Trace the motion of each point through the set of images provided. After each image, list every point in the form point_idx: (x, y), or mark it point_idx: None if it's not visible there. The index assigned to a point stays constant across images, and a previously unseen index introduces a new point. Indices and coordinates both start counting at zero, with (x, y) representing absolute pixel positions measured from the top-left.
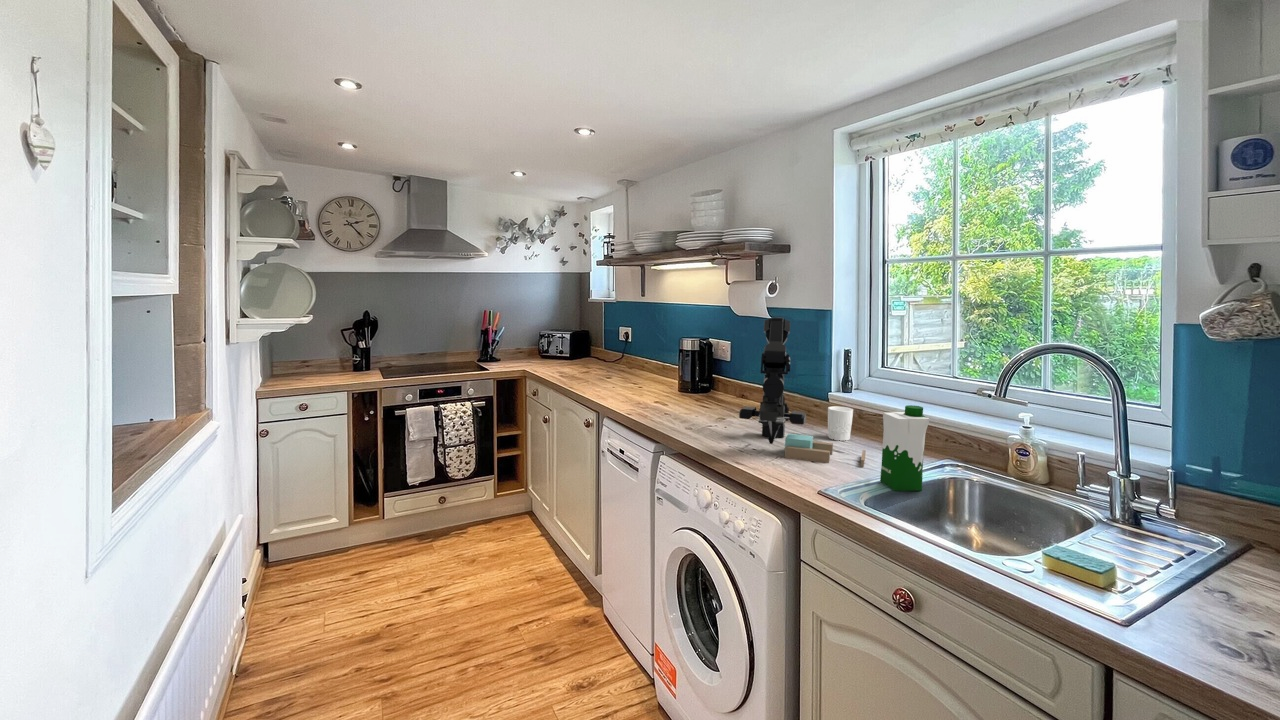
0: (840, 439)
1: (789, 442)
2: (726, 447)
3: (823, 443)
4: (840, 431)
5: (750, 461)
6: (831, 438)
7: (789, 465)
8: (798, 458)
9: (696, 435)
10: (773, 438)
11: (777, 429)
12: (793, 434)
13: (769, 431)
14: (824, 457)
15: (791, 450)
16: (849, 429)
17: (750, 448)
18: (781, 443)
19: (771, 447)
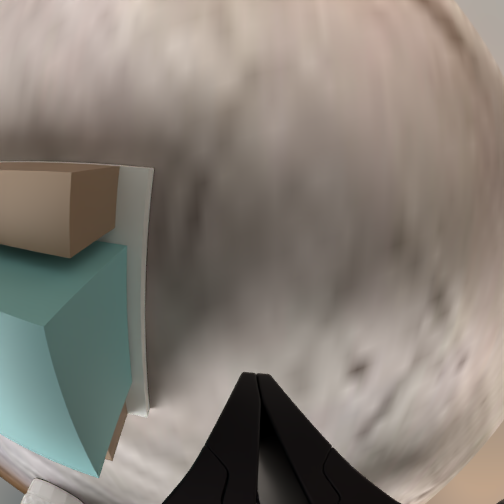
0: (42, 482)
1: (30, 288)
2: (480, 336)
3: None
4: (36, 500)
5: (393, 52)
6: (66, 493)
7: (101, 32)
8: (28, 162)
9: (497, 417)
10: (232, 404)
11: (167, 500)
12: (54, 455)
13: (300, 469)
14: None
15: (34, 169)
16: (22, 499)
17: (376, 376)
18: None
19: None
